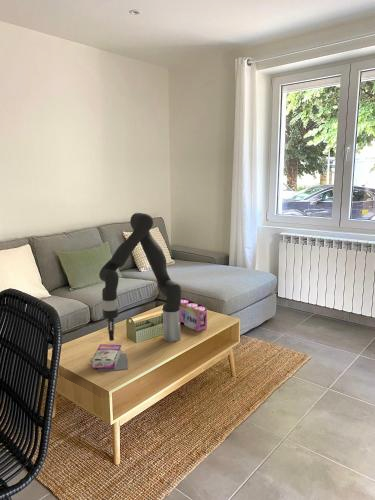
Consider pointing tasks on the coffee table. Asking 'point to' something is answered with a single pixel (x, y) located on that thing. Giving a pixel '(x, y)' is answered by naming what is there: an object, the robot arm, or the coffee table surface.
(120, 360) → the mat
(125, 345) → the coffee table surface
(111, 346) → the candy bar box
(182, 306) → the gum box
